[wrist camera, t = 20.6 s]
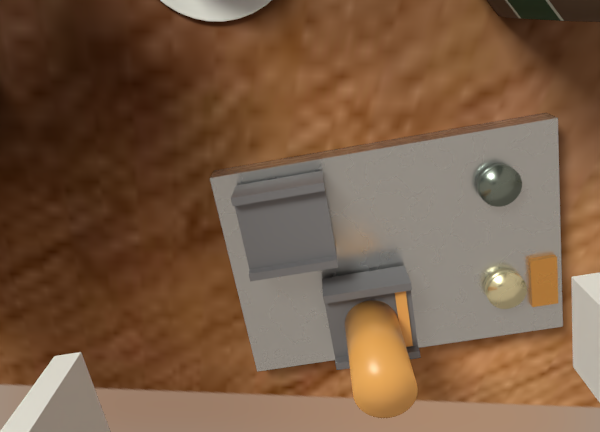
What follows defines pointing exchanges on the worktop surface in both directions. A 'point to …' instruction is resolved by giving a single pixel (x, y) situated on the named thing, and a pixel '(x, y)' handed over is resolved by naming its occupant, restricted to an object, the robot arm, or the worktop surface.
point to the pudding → (216, 8)
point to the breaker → (285, 226)
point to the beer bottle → (548, 9)
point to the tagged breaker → (363, 287)
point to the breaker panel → (419, 236)
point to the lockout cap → (379, 360)
